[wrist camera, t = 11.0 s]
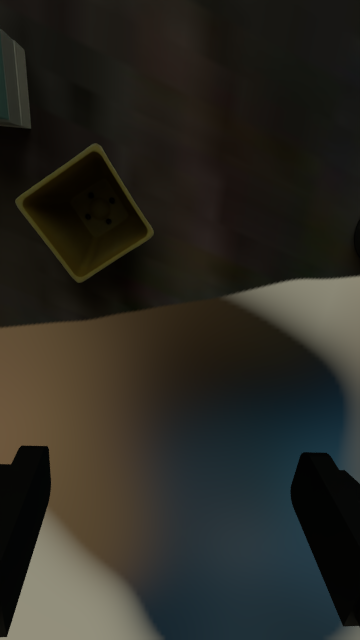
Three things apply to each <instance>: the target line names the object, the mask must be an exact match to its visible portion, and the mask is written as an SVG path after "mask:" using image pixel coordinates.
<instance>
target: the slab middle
mask: <svg viewBox="0 0 360 640" xmlns="http://www.w3.org/2000/svg"><path fill="white" fill-rule="evenodd" d="M0 34H1V44H2V54H3V64H4V74H5V84H6V94H7V104H8V114H9V120H6V119H0V124H2V125H13V126H21V116H20V105H19V95H18V84H17V73H16V63H15V52H14V42H13V40H12V39H11V38H10V37H9V36H8V35H7V34H6V33H5V32H4V31H3V30H1V29H0Z"/></svg>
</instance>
